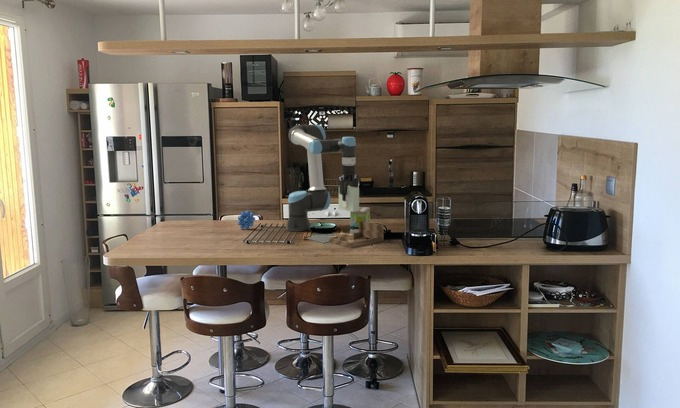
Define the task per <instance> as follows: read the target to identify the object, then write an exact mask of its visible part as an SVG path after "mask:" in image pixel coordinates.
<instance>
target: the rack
mask: <svg viewBox="0 0 680 408" xmlns="http://www.w3.org/2000/svg"><path fill="white" fill-rule="evenodd" d="M352 234H354V239H355V238H360V237H363V238H367V239H362V240H357V242H352V243H349V242H345V241H341V240H338V239H337V238H338V236H331V237H332V238H329V242H328V243H331V244H334V245H337V246H341V247H345V248H347V249H353V248H357V247H362V246H366V245H370V244H376V243H379V242H380V243H381V242H384V224H378V223H374V222H371V221H370V222H366V221H359V232H357V233H352Z"/></svg>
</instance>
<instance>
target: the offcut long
mask: <svg viewBox="0 0 680 408" xmlns="http://www.w3.org/2000/svg"><path fill="white" fill-rule="evenodd" d="M337 239H338V238H337ZM338 240H341V239H338ZM341 241H345V242H349V243H352V242H357V241H358V240H355V239H354V240H351V241H350V240H341Z"/></svg>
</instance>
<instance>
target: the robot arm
mask: <svg viewBox="0 0 680 408" xmlns="http://www.w3.org/2000/svg"><path fill="white" fill-rule="evenodd" d="M326 137H327V135H326V131H325V128H324V127H323V126H322V125H320V124H297V125H295V126H293V127H292V128H290V129H289V131H288V139H289V141H290V142H291V143H292V144H293V145H298V146H299V145H300V146H303V147H304V149H306V151H307V152H306V153H307V163H308V176H309V177H308V179H309V188H308V189H307V190H297V191H293V192H291V193H289V195H288V199H287V203H288V219H287V223H286V227H285V229H286V231H288V232H297V233H298V232H308V231H310V230H311V229H310V228H311V223H310V221H309V218H308V212H310V213H311V212H317V211H320V212H321V211H326V210H328V209H329V207H330V206H331V201H332V200H331V195H330V192H329V191H327V188H326V187H325V186H324V185H325V184H324V172H323V161H322V155H323V154H338V153H339V154H340V153H341V164H342V165H341V172H342V175H341V176H339V177H338V182H339V183H338V185H339V186H338V195H339V194H341V195H342V200H343V206H344V207H347V195H346V193H347V187H348V186H351V187H357V188H359V174H356V173H355V172H356V156H357V155H356V150H357V148H356V146H357V143H356V137H354V136H342V138H335V139H327V138H326Z"/></svg>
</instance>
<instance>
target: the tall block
mask: <svg viewBox="0 0 680 408" xmlns="http://www.w3.org/2000/svg"><path fill="white" fill-rule="evenodd" d="M346 195H347V207H344V206H343V200H342V195H341V194H339V193H338V210H342V211H348V212H350V211H351V212H355V211H359V207H360V187H358V188H357V187H351V186H350V185H348V187H347V193H346Z"/></svg>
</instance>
